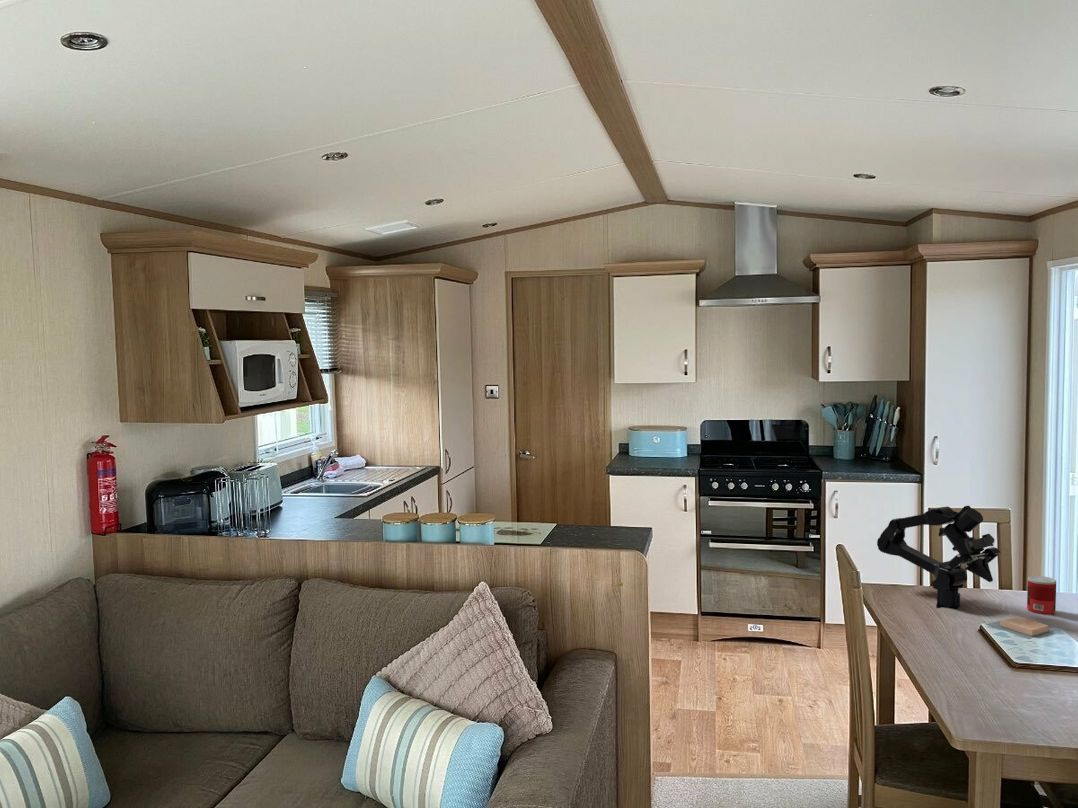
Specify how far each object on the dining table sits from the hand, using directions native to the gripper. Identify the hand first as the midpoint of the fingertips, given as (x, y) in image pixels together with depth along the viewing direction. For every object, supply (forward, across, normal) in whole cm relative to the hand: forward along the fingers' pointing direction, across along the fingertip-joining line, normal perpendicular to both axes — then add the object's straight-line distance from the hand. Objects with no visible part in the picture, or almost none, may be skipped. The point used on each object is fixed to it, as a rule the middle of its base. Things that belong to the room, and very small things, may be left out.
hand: (991, 581), depth 266 cm
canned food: (+11, +21, +7) cm, 25 cm away
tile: (+12, 0, +4) cm, 13 cm away
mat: (+16, 0, +2) cm, 16 cm away
